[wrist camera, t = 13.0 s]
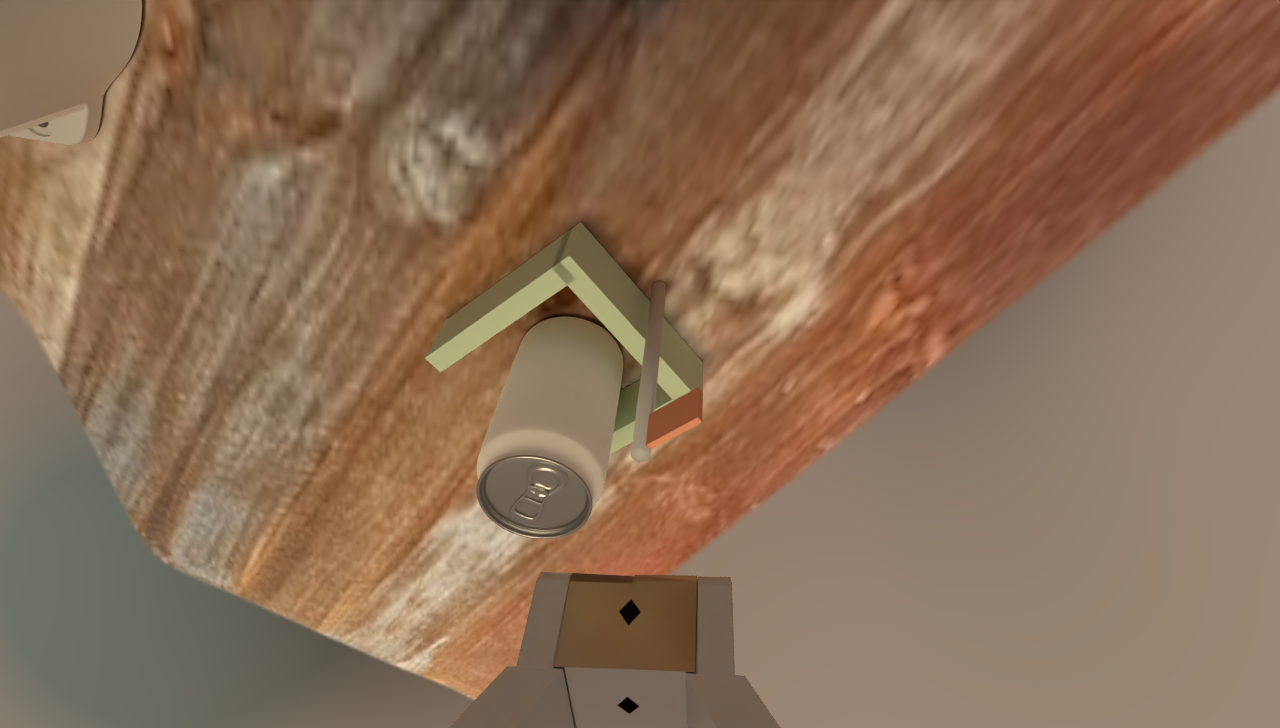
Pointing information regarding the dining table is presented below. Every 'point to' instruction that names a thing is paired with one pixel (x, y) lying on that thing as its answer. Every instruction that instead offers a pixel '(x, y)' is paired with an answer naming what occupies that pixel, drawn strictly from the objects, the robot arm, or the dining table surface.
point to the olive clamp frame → (580, 262)
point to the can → (552, 430)
